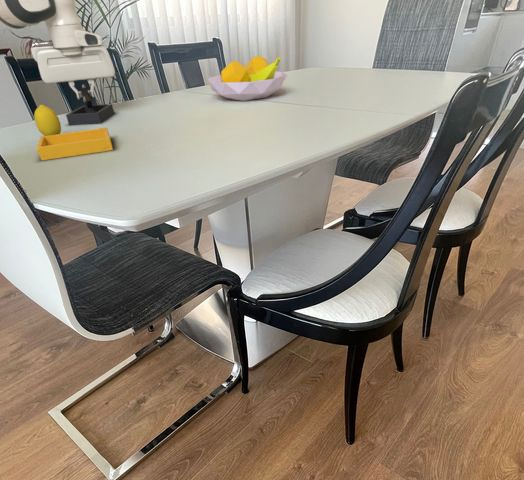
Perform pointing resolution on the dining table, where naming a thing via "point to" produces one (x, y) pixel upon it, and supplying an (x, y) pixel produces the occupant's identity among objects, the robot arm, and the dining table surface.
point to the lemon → (47, 121)
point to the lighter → (86, 97)
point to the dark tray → (90, 114)
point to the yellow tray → (74, 144)
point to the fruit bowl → (248, 80)
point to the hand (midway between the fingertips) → (86, 98)
